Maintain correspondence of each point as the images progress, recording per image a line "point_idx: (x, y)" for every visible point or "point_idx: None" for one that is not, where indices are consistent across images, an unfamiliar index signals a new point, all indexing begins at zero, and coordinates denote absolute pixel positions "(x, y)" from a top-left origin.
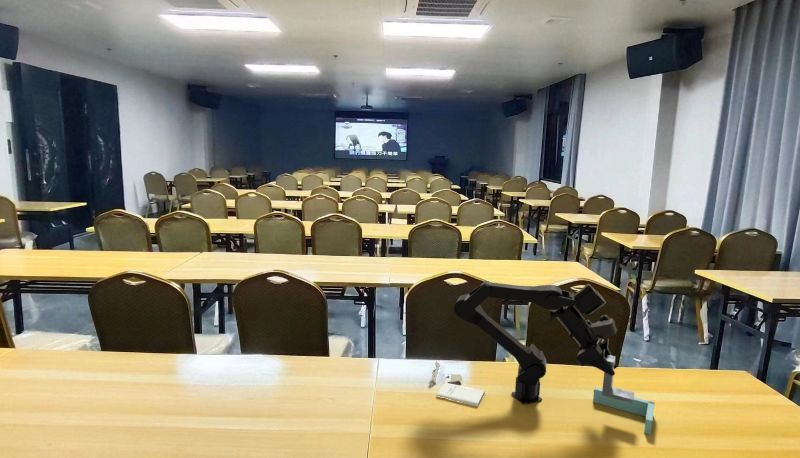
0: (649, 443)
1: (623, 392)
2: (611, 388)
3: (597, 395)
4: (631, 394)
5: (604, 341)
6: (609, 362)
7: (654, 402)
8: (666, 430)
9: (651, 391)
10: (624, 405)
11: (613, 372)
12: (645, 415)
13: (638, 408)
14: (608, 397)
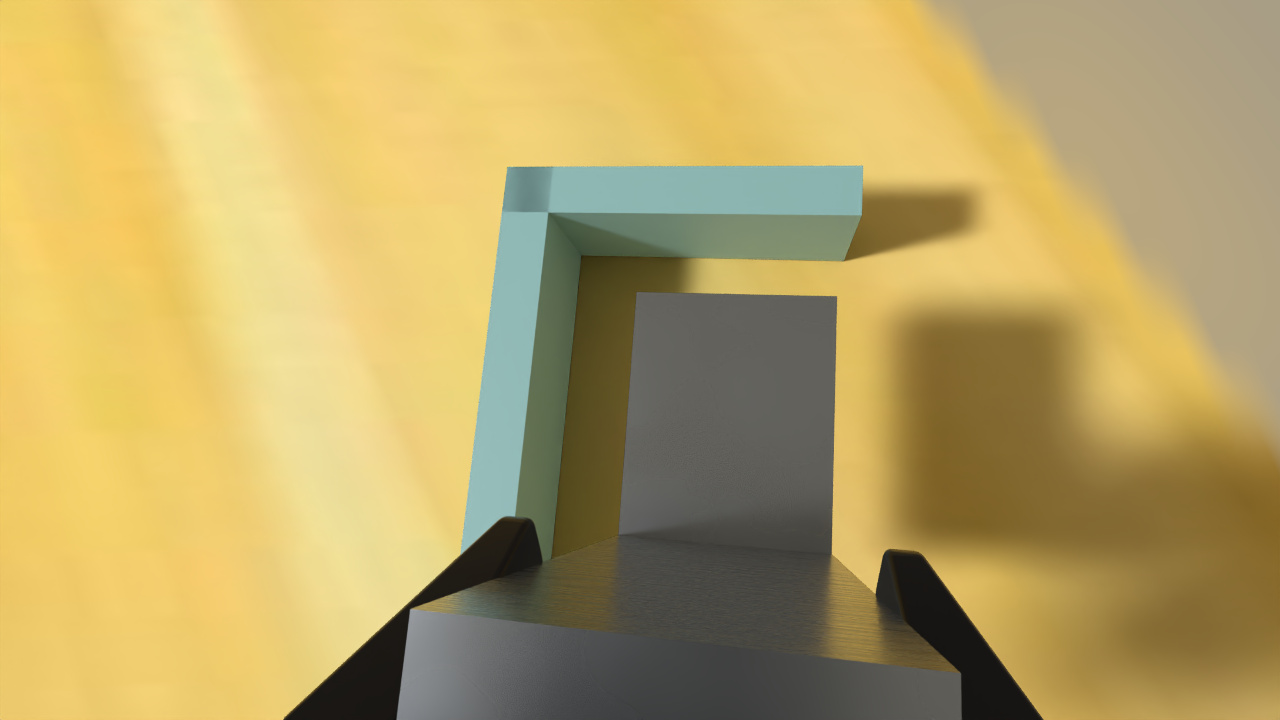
0: (975, 221)
1: (703, 402)
2: (713, 545)
3: None
4: (704, 316)
5: None
6: None
7: (507, 168)
8: (713, 129)
9: (187, 240)
10: (553, 406)
11: (944, 590)
12: (579, 261)
13: (560, 301)
14: None
